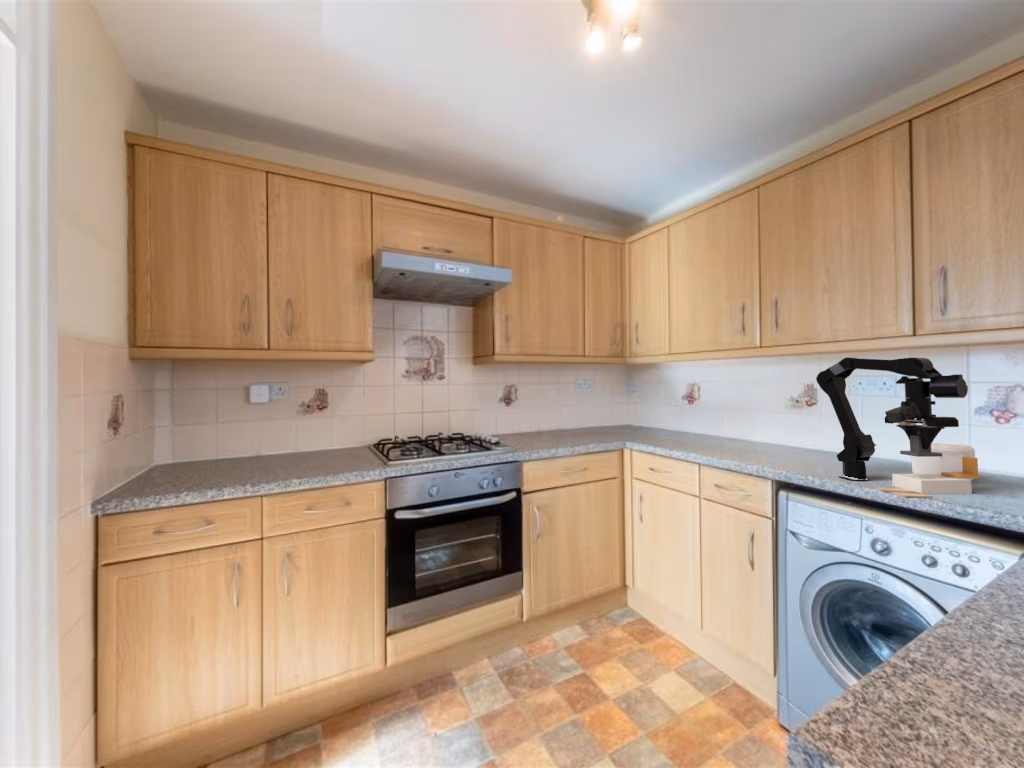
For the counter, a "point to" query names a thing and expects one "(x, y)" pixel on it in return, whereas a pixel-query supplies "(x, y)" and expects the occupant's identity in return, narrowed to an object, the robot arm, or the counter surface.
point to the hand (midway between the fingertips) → (920, 448)
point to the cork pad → (904, 492)
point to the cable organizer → (943, 459)
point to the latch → (966, 469)
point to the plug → (919, 448)
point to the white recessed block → (932, 483)
